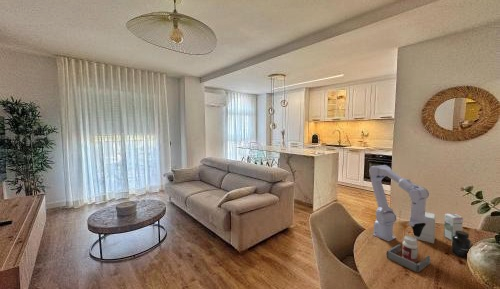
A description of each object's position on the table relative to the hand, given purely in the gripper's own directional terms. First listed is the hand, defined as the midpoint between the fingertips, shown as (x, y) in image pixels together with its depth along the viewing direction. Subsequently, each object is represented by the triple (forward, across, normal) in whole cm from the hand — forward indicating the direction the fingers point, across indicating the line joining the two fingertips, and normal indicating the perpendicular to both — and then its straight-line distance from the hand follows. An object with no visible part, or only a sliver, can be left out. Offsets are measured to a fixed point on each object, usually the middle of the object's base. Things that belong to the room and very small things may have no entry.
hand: (417, 235), depth 110 cm
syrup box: (+10, +36, -4) cm, 38 cm away
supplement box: (+10, +23, +5) cm, 26 cm away
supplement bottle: (+10, +19, -12) cm, 25 cm away
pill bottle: (+10, -8, 0) cm, 13 cm away
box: (+10, -9, 0) cm, 14 cm away
